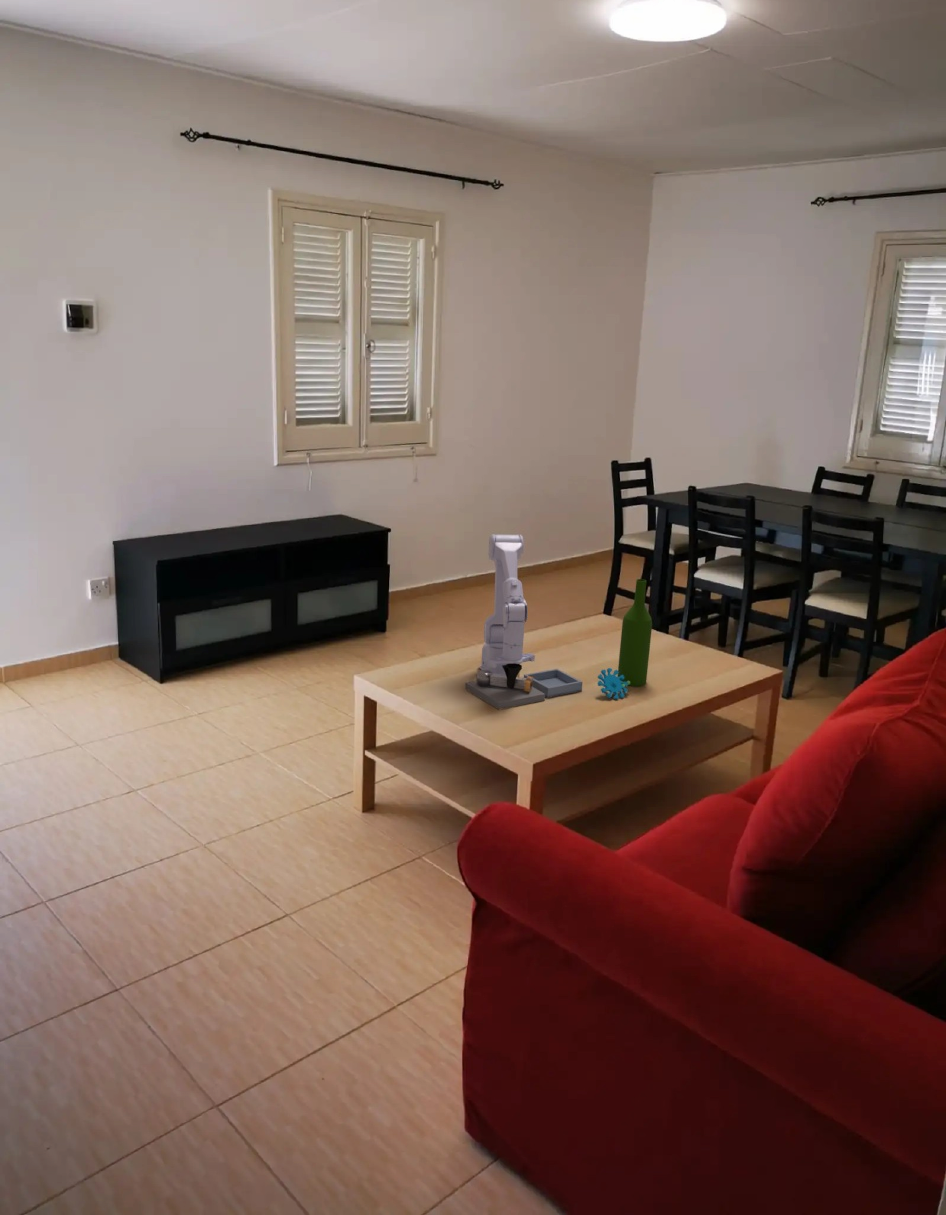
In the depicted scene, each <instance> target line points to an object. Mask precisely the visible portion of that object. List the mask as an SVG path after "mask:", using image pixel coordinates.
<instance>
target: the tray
mask: <svg viewBox="0 0 946 1215" xmlns="http://www.w3.org/2000/svg"><path fill="white" fill-rule="evenodd" d="M528 676H530V677H533V686H532V687H534V688H535V689H537V690H539V691H541V692H542V693H544V694H545V698H547V699H549V698H554V697H559V695H560V696H563V695H569V694H574V693H575V694H576V693H579V691H580V692H582V691H583V681H582V680H580V679H578V678H576V677H574V676H572V675H570V674H568V673H567V672H564V671H562V670H561V669H559V668H553V669H547V670H543V671H542V670H541V671H538V672H532V673H531V672H530V673H526V674H523V678H527V677H528Z"/></svg>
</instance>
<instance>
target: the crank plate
mask: <svg viewBox="0 0 946 1215" xmlns="http://www.w3.org/2000/svg"><path fill="white" fill-rule="evenodd" d="M465 689H466V690H467V691H469V692H470V693H472V694H474V695H475V696H476V697H478V698H480V699H481V700H483V701H484V702H485V703H487V704H489V705H491V706H492V707H494V708H495V709H497V710H505V709H508V708H514V707H519V706H523V705H529V704H533V703H539V702H545V700H546V697H545V694H544V693H542V692H541V691H539V690H537V689H535V688H534V687H532V688H531V690H530V692H526V691H524V689H518V688H512V689H510V688H509V687H502V686H494V685H490V686H480V685H478V684H477V679H475V680H470V681H466V682H465Z"/></svg>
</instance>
